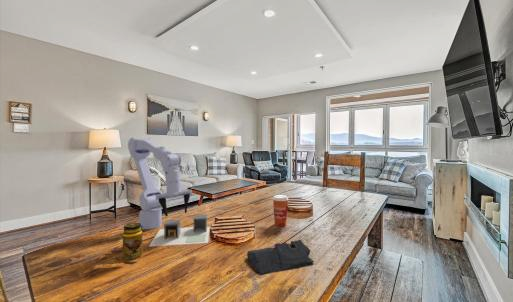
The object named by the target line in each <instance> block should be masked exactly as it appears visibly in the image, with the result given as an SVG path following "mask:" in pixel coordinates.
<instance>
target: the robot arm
mask: <svg viewBox="0 0 513 302" xmlns="http://www.w3.org/2000/svg"><path fill="white" fill-rule="evenodd" d="M127 143H128V144H127V149H128V152H129V155H130V157H131V158H133V161H134V164H135V167H136V171H137V174H138V177H139V179H140V180H139V181H140V183H141V184H140V185H141V187H142V190H143V191H142V192H141V194H140V195H139V197H138V198H139V206H140V208H141V210H140V211H139V213H138V223H140V224H141V230H156V229H159V228H161V227H162V225H163V224H162V223H163V222H162V221H163V219H162V218H163V216H162V213H163V212H164V215H165V216H164V217H168V209H167V199H172V198H178V197H183V202H184V214H187V213H188V211H187V209H188V204H189V200H190V197H191V196H192V195H193V190H192V189H187V190H182V187H181V175H180V168H179V167H180V165H181V163H182V160H181V156H180V155H179V154H178V153H177V152H176V153H172V152H171V151H170V150H168V149H166V147H165V146H163V145H162V146H158V145H157V144H155V142H154V139H152V138H150V137H147V138H145V137H144V138H143V137H131V138H130V139H128V142H127ZM151 153H152V154H153V157H154V159H156V160H158V162H160V165H161V167H162V171H163V173H164V176H165V177H164V178H165V188H166V193H163V192H162V191H163V190H161V189H159V188H157V187H156V185H155V182H154V179H153V176H152V172H151V171H150V166H149V165H148V161H147V158H148V157H149V156H150V155H151ZM162 210H163V212H162Z"/></svg>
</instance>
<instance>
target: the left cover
mask: <svg viewBox="0 0 513 302" xmlns="http://www.w3.org/2000/svg"><path fill="white" fill-rule="evenodd" d="M175 227H177V238H179V235H180V233H181V231H180V228H181V219H179V218H178V219H167V220H166V221H165V222H164V223H163V229H164V239H166V237H167V235H168V230H169V228H175Z"/></svg>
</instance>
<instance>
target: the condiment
mask: <svg viewBox="0 0 513 302" xmlns="http://www.w3.org/2000/svg"><path fill="white" fill-rule="evenodd" d="M143 245H144V244H143V230H142V229H141V224H140V223H139V221H138V222H137V221H136V222H129V223H126V224H124V226H123V233H122V259H123V260H127V262H125V261H123V264H126V265H134V264H136V263H138V261H132V260H136V259H139V258H141V257H142V255H143V253H144V249H143V247H144V246H143ZM128 261H129V262H128Z"/></svg>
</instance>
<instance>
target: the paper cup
mask: <svg viewBox="0 0 513 302" xmlns="http://www.w3.org/2000/svg"><path fill="white" fill-rule="evenodd" d="M272 201H273V202H272V203H273V220H274V221H273V222H274V226H276V227H281V228H283V227H286V225H287V216H288V215H287V214H288V204H289V203H288V202H289V197H288V196H287V195H285V194H276V195H275V194H274V195H273V197H272Z"/></svg>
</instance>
